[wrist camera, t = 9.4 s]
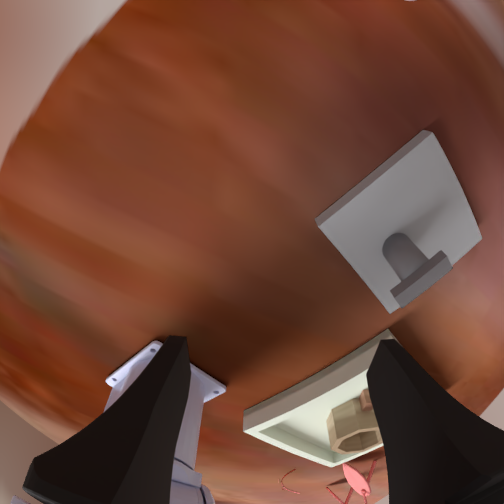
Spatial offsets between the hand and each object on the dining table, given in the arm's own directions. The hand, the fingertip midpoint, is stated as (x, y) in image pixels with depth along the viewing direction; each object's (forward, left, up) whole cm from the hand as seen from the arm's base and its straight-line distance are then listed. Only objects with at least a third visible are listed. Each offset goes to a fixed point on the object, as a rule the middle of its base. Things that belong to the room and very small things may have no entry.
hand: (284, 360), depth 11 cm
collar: (-6, -20, -9) cm, 22 cm away
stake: (+8, -5, -9) cm, 13 cm away
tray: (-6, -20, -9) cm, 23 cm away
